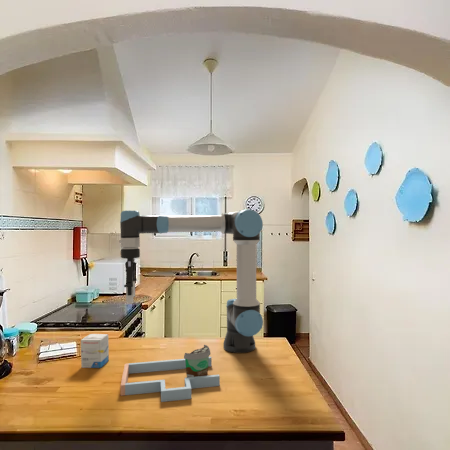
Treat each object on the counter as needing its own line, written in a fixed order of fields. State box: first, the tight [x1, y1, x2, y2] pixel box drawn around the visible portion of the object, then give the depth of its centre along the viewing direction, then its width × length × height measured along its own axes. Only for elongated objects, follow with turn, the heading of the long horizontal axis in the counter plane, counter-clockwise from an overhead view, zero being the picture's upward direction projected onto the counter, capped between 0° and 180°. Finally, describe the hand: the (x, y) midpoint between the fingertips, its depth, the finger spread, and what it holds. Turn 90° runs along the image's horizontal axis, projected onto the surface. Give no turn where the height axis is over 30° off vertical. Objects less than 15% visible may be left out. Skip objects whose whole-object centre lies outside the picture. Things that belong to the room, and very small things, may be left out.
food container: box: [183, 344, 211, 377], centre depth 139 cm, size 12×6×10 cm, turn 143°
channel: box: [120, 356, 221, 403], centre depth 133 cm, size 34×28×4 cm
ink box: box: [80, 333, 110, 369], centre depth 153 cm, size 9×8×12 cm
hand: (131, 300), depth 148 cm, fingers open, 13 cm apart
